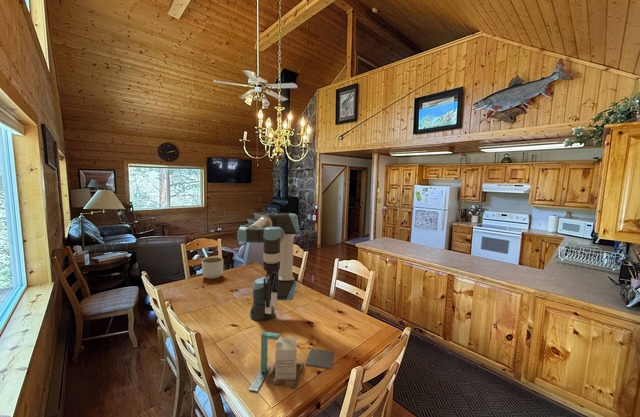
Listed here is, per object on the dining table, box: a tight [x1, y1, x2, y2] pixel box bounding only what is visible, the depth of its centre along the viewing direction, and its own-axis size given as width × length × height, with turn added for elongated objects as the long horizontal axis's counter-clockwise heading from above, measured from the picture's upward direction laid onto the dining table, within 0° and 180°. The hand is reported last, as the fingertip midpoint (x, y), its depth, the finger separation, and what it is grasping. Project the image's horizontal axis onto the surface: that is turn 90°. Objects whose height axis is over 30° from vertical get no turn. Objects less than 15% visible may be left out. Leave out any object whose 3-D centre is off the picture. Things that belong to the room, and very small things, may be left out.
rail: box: [248, 365, 271, 393], centre depth 113 cm, size 4×14×1 cm, turn 170°
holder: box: [265, 361, 305, 390], centre depth 116 cm, size 13×13×2 cm
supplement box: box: [274, 337, 298, 382], centre depth 115 cm, size 9×9×15 cm
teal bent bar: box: [260, 331, 281, 372], centre depth 116 cm, size 8×2×17 cm, turn 80°
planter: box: [201, 256, 224, 280], centre depth 228 cm, size 17×17×15 cm
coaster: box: [305, 347, 335, 370], centre depth 127 cm, size 12×12×1 cm
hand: (271, 309), depth 123 cm, fingers open, 7 cm apart
